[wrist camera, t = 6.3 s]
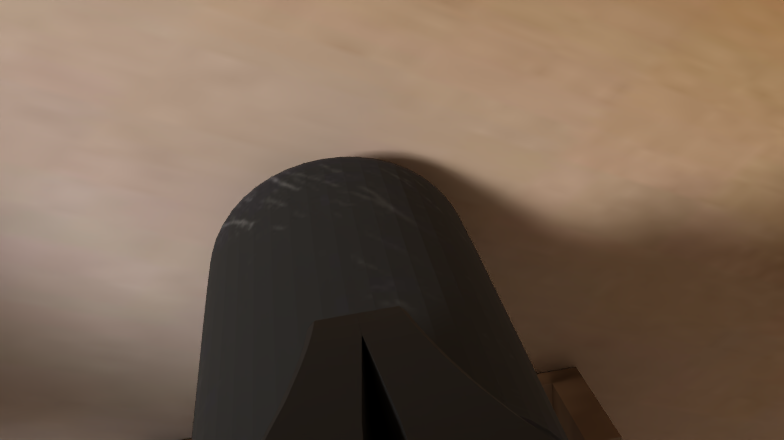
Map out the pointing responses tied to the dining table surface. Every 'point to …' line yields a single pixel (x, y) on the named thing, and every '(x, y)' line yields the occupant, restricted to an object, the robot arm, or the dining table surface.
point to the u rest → (575, 406)
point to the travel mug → (347, 289)
